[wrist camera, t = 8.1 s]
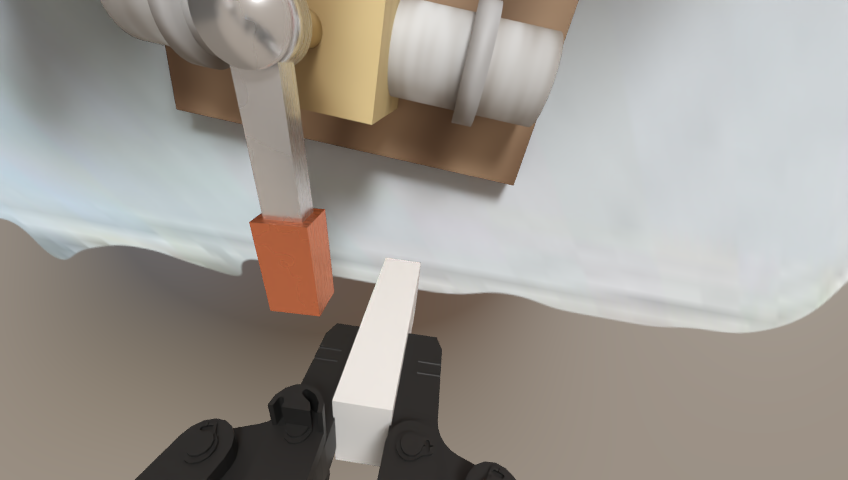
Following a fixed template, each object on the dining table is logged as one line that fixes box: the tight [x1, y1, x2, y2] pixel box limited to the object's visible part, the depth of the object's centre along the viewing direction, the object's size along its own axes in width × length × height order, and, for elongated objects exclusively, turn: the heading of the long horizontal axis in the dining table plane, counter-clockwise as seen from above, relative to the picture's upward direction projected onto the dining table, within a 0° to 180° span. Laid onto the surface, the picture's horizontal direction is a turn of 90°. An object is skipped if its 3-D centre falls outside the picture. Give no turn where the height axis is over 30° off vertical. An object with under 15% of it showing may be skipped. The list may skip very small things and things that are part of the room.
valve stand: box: [100, 0, 579, 185], centre depth 17 cm, size 26×14×12 cm, turn 79°
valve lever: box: [188, 0, 334, 316], centre depth 14 cm, size 14×3×2 cm, turn 177°
